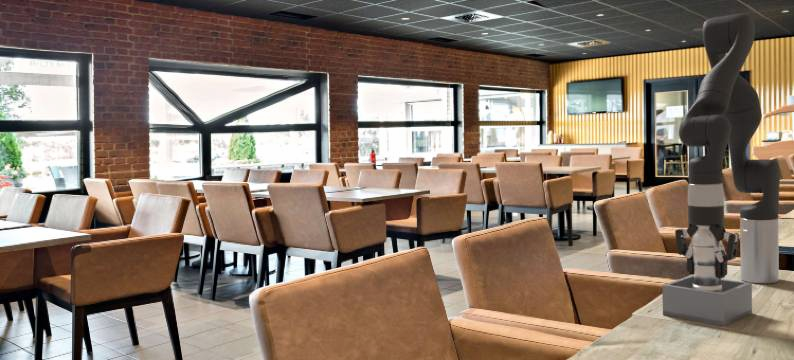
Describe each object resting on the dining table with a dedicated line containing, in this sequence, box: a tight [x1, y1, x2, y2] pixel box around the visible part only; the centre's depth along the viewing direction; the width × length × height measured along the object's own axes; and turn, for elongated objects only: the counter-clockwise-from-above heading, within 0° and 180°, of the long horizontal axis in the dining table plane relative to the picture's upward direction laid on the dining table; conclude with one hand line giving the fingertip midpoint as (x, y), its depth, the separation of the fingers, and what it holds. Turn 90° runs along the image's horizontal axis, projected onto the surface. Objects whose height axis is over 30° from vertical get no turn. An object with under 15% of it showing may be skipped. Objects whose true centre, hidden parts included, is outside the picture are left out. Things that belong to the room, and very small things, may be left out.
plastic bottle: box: [690, 225, 723, 293], centre depth 154 cm, size 6×7×20 cm
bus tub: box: [661, 274, 753, 327], centre depth 154 cm, size 14×14×7 cm
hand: (706, 275), depth 154 cm, fingers open, 6 cm apart
